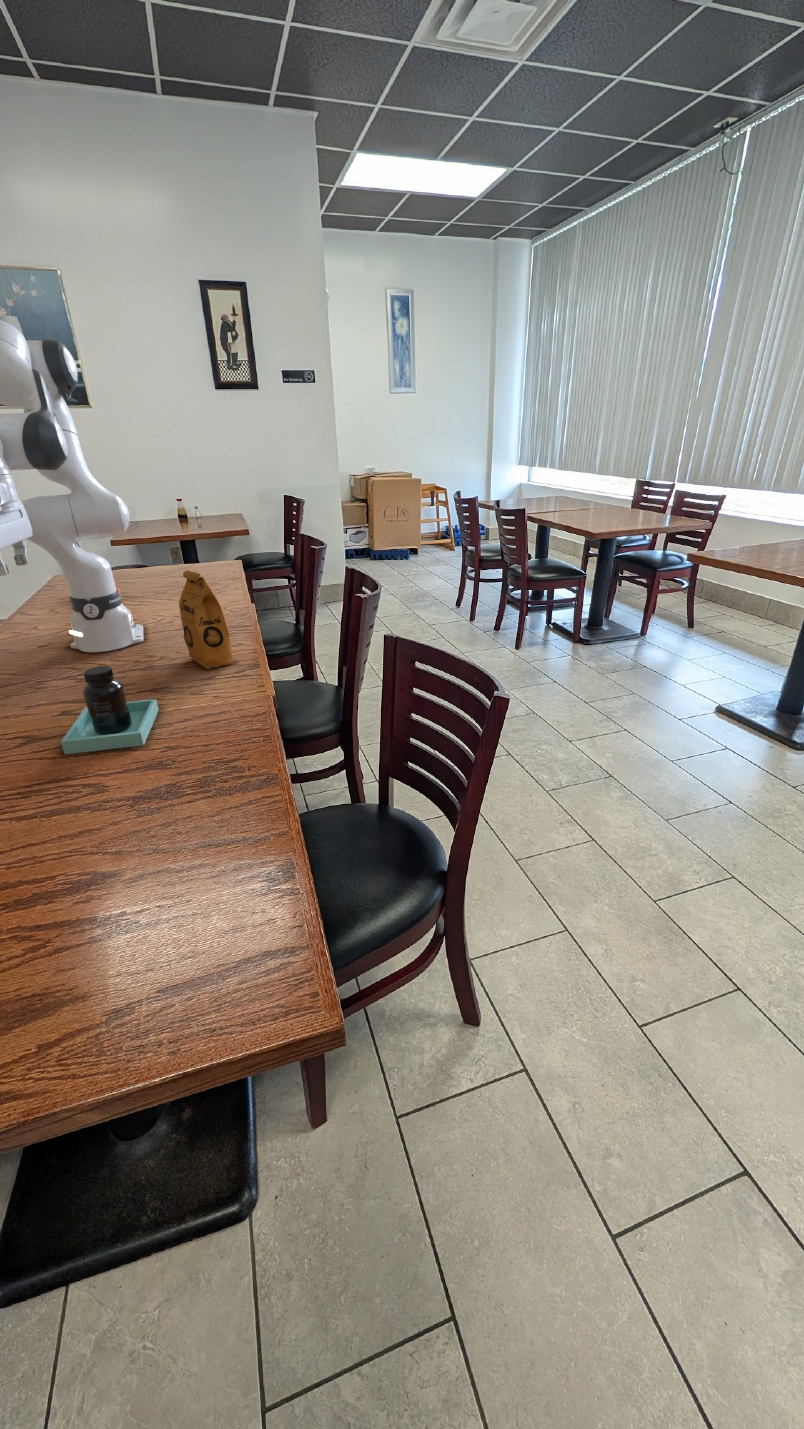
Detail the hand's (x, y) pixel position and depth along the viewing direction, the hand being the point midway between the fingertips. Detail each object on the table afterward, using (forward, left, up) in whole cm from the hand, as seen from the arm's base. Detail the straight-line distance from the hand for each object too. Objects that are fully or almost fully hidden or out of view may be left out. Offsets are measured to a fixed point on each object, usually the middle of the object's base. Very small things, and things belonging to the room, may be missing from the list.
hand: (13, 569), depth 112 cm
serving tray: (+15, +15, -29) cm, 36 cm away
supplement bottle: (+15, +15, -29) cm, 36 cm away
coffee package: (-20, +30, -29) cm, 46 cm away
